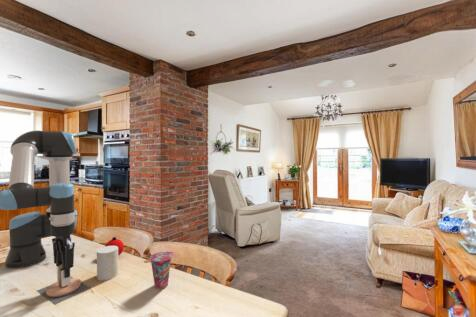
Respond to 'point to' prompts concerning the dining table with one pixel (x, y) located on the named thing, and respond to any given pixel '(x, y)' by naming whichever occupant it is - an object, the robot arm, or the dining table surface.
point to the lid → (58, 290)
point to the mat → (59, 299)
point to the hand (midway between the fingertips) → (63, 283)
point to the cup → (161, 268)
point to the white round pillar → (107, 262)
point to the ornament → (116, 244)
